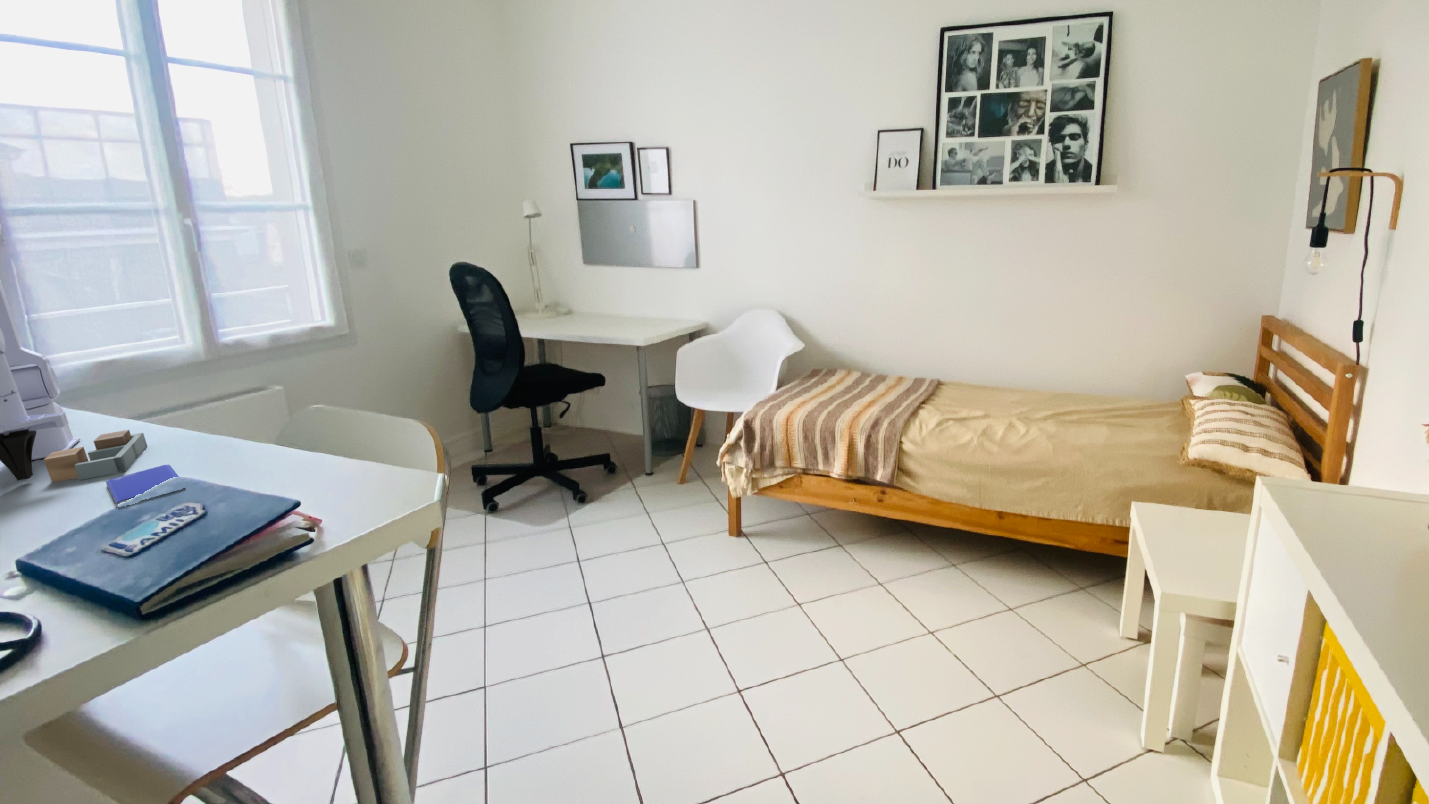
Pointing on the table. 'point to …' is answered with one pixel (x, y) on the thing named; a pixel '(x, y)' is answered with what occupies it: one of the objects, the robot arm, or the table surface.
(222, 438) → the table surface
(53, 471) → the block
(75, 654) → the table surface
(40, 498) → the table surface
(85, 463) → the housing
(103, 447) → the seated block
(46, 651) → the table surface
